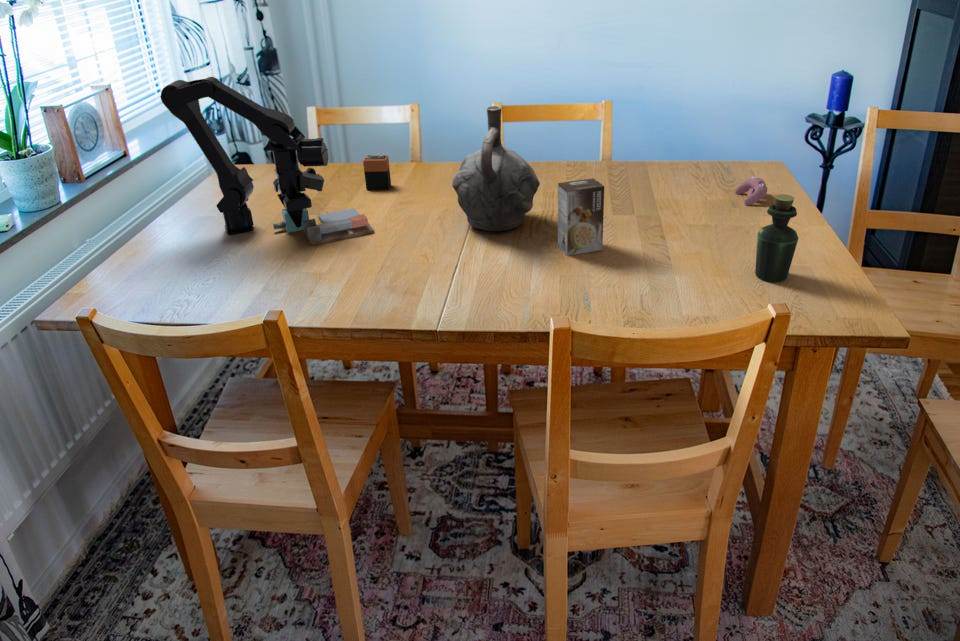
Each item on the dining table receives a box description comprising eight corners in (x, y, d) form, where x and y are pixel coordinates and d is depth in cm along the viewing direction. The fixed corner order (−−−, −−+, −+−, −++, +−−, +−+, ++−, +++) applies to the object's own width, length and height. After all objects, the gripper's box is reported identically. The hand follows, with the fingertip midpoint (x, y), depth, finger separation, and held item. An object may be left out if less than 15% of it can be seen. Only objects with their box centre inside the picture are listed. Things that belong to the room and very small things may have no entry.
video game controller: (758, 211, 198) (773, 188, 195) (743, 204, 197) (759, 181, 194) (746, 198, 207) (761, 176, 204) (732, 191, 206) (747, 169, 203)
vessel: (548, 241, 183) (549, 118, 168) (458, 248, 181) (451, 124, 166) (532, 205, 204) (531, 93, 189) (451, 211, 202) (445, 98, 187)
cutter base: (310, 245, 186) (307, 229, 184) (305, 237, 191) (302, 220, 189) (374, 232, 192) (372, 216, 189) (367, 224, 196) (365, 209, 194)
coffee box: (592, 240, 182) (594, 177, 174) (602, 250, 177) (606, 186, 169) (556, 246, 181) (557, 182, 172) (566, 256, 175) (567, 191, 167)
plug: (276, 235, 193) (272, 216, 190) (273, 229, 196) (269, 211, 194) (310, 228, 196) (307, 210, 193) (307, 223, 199) (304, 205, 197)
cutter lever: (311, 236, 187) (310, 230, 186) (309, 232, 189) (307, 225, 188) (368, 224, 192) (367, 218, 191) (364, 220, 194) (363, 214, 193)
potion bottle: (744, 276, 163) (756, 198, 154) (762, 264, 168) (775, 187, 159) (779, 288, 158) (794, 207, 149) (797, 275, 163) (812, 196, 154)
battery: (389, 190, 219) (385, 156, 214) (366, 190, 219) (362, 157, 214) (391, 184, 223) (388, 152, 218) (368, 185, 223) (365, 152, 218)
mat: (327, 231, 194) (326, 227, 193) (318, 218, 202) (318, 214, 201) (364, 223, 197) (364, 220, 197) (354, 211, 205) (354, 207, 205)
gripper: (327, 171, 183) (336, 230, 191) (310, 151, 198) (319, 207, 206) (281, 179, 180) (292, 239, 187) (268, 158, 195) (278, 214, 202)
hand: (297, 224), depth 196 cm, fingers closed on plug, 4 cm apart
